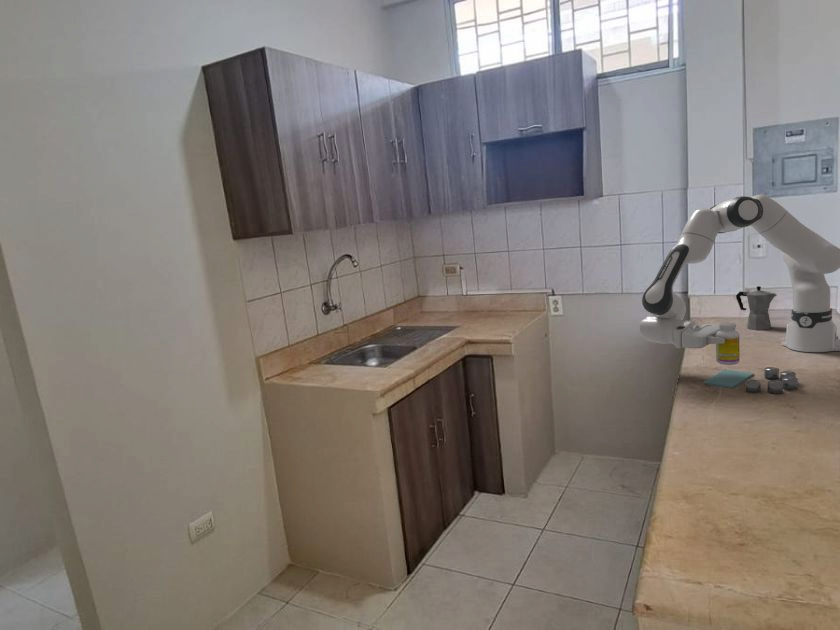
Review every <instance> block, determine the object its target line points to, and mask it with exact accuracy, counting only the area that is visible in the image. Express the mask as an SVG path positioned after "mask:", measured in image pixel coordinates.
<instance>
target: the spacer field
mask: <svg viewBox="0 0 840 630" xmlns="http://www.w3.org/2000/svg"><path fill="white" fill-rule="evenodd" d="M763 371H764V376H763V377H764V379H765V378H766V380H767V383H766V385H767V389H766V390H767V393H769V394H771V395H782V394H784V390H785V391H793V390H794V391H798V390H799V379H798V378H797V373H796V372H794V371H791V370H790V371H789V370H788V371H787V370H783V371H780V368H778V367H773V366H768V367H764V369H763ZM769 379H771V380H769ZM775 379H777V380H775ZM779 379H780V380H779ZM744 382H745V383H744V384H745V386H744V387H745V392H746V393H748V394H759V393H761V391H762V390H761V386H762V385H761V382H762V381H761V380H758V379H757V380H756V379H747V380H745V381H744ZM797 389H798V390H797Z"/></svg>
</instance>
